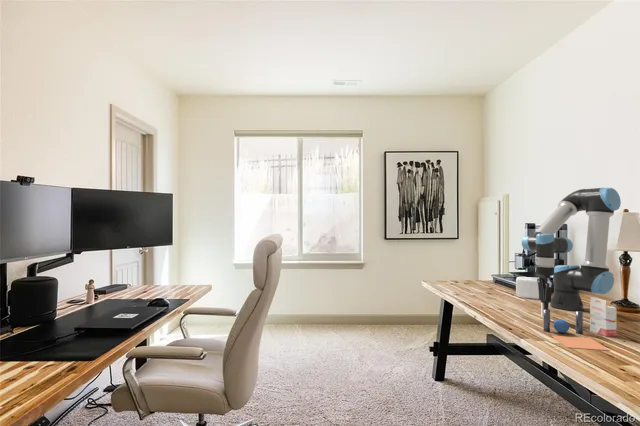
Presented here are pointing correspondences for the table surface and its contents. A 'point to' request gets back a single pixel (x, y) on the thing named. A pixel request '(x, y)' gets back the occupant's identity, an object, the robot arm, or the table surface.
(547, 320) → the post
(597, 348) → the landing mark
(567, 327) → the ball
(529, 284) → the cable organizer
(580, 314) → the post
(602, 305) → the ink cartridge box
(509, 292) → the table surface
